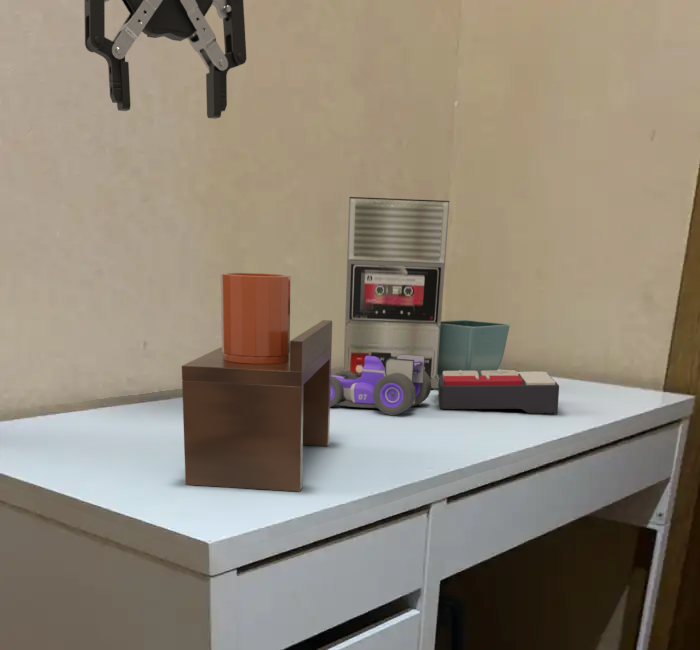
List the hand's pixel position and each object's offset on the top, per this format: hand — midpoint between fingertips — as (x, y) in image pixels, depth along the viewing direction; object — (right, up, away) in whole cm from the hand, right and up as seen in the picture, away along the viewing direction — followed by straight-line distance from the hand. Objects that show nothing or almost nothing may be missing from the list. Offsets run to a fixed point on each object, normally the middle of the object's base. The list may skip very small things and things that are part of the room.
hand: (169, 114), depth 86 cm
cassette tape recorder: (+22, -12, +51) cm, 57 cm away
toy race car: (+19, -19, +34) cm, 43 cm away
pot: (+8, -24, -5) cm, 26 cm away
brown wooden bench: (+8, -32, +3) cm, 33 cm away
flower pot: (+34, -11, +54) cm, 65 cm away
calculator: (+36, -18, +38) cm, 56 cm away
